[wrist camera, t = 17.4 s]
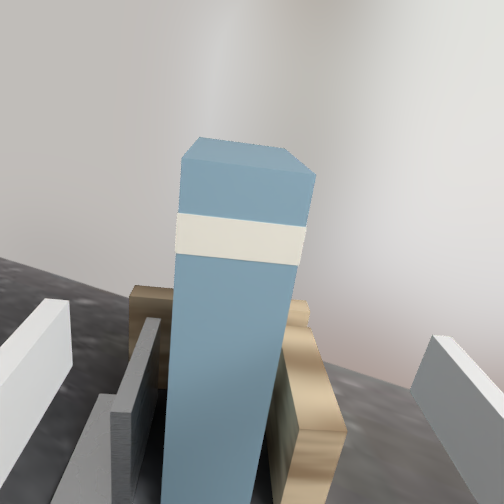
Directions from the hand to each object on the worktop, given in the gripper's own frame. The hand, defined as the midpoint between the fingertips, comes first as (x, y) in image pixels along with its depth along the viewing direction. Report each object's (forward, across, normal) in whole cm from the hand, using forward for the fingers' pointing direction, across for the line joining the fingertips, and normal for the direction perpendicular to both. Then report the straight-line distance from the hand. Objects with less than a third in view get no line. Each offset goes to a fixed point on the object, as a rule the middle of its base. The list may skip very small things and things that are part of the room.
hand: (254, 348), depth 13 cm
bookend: (+10, -8, -18) cm, 23 cm away
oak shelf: (+12, -1, -18) cm, 22 cm away
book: (+10, 0, -18) cm, 21 cm away
